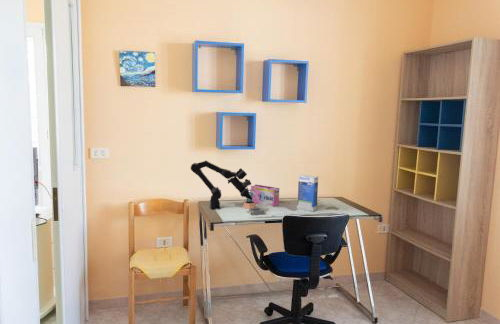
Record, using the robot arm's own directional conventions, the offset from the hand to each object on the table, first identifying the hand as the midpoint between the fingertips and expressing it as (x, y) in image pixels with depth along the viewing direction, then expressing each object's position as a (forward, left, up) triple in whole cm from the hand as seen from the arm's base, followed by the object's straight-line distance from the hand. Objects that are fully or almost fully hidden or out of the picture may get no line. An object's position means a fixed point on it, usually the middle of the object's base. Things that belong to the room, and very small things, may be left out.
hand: (251, 198), depth 296 cm
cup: (-1, 0, -8) cm, 8 cm away
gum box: (+17, +14, -8) cm, 23 cm away
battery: (-1, 0, -6) cm, 6 cm away
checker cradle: (-2, -16, -8) cm, 18 cm away
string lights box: (+41, -13, -8) cm, 43 cm away
